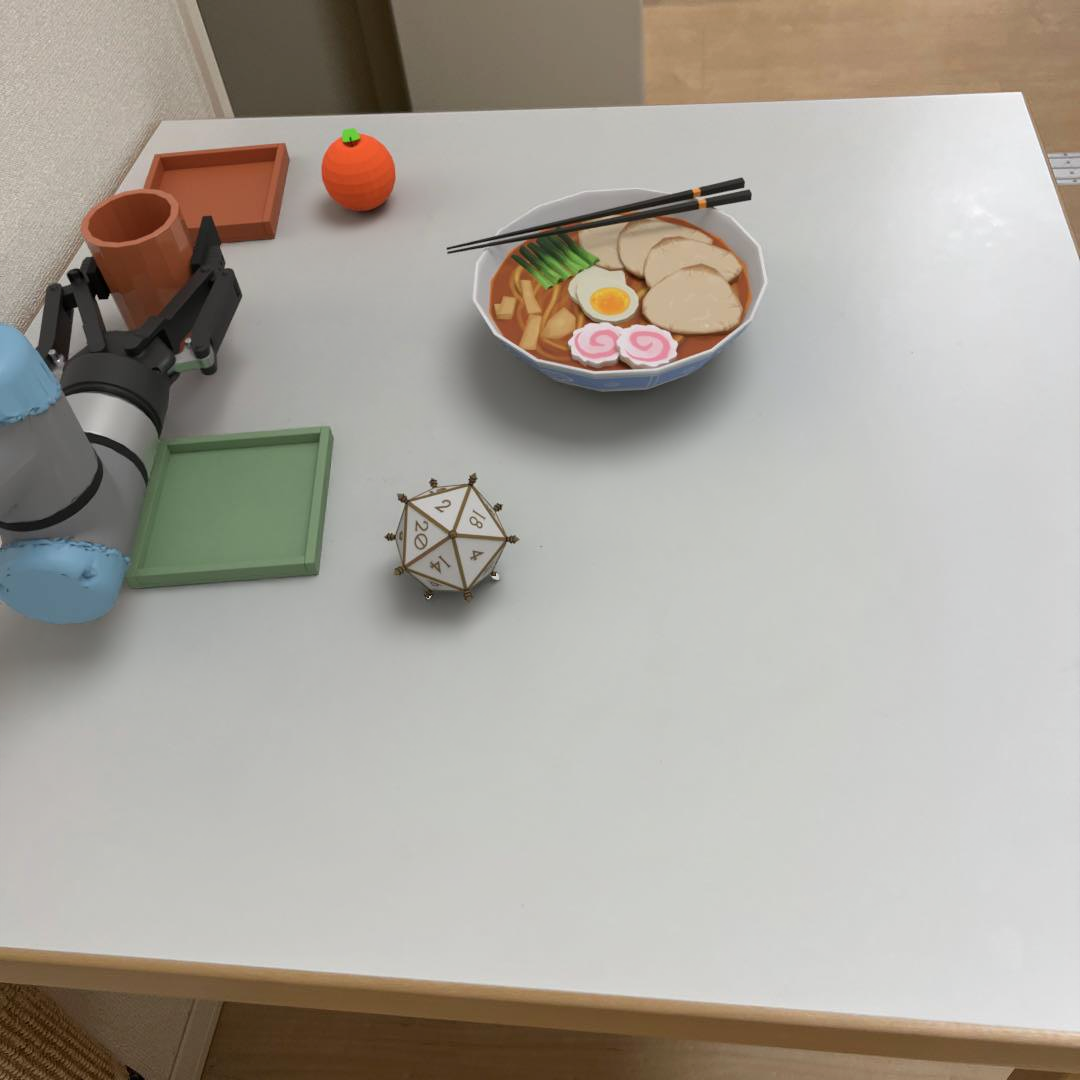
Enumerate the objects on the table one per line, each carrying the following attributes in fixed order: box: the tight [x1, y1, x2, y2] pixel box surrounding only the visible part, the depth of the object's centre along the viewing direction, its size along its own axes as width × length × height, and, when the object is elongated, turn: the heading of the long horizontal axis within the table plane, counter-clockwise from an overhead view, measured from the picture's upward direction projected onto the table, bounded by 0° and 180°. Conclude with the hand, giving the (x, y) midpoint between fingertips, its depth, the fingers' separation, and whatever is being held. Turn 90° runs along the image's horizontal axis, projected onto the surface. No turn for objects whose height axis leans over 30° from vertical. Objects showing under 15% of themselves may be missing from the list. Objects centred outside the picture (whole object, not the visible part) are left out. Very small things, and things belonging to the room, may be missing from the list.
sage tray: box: [124, 425, 335, 589], centre depth 79 cm, size 13×13×1 cm
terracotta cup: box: [79, 188, 195, 354], centre depth 88 cm, size 8×8×12 cm
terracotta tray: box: [142, 142, 291, 245], centre depth 104 cm, size 13×13×2 cm
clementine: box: [320, 127, 397, 212], centre depth 101 cm, size 8×7×7 cm
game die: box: [383, 472, 520, 604], centre depth 71 cm, size 9×8×10 cm
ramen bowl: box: [446, 176, 769, 393], centre depth 85 cm, size 25×23×8 cm
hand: (162, 233), depth 90 cm, fingers closed on terracotta cup, 8 cm apart
